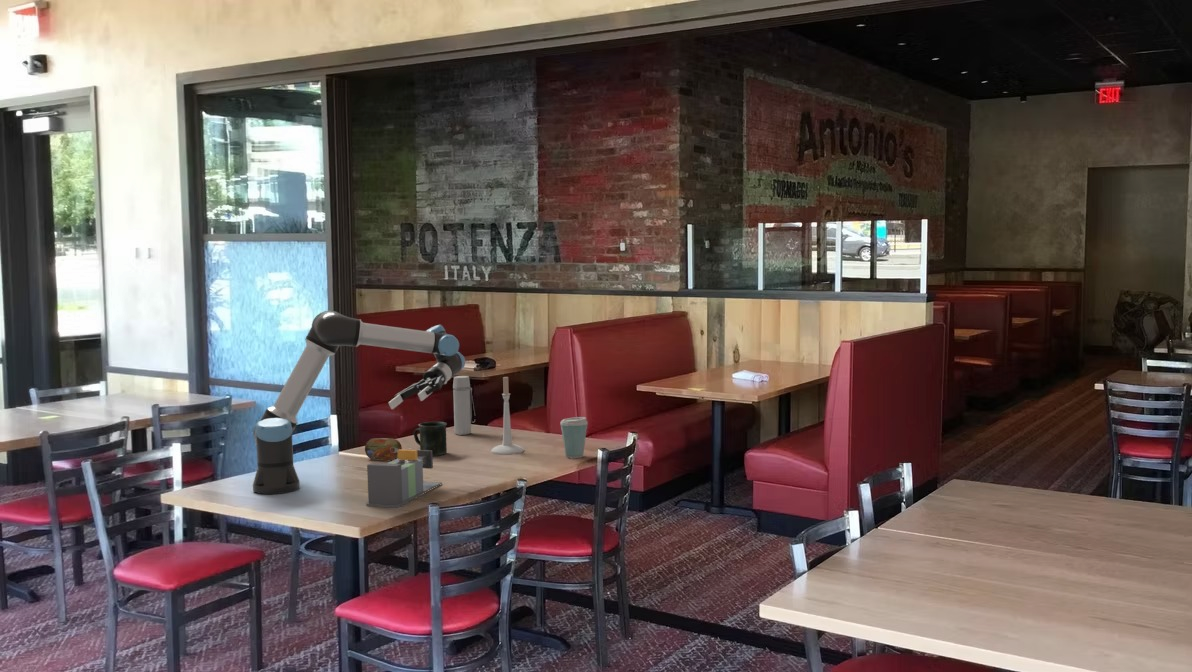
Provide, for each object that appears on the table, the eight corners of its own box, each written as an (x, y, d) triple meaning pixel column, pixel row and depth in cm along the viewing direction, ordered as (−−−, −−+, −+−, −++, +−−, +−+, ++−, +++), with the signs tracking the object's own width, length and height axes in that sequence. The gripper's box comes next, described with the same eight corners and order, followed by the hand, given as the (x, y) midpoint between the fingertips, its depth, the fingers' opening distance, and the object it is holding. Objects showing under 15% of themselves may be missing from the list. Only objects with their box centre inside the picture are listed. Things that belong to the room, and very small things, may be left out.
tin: (364, 459, 393) (363, 438, 393) (369, 458, 396) (368, 436, 396) (399, 461, 389) (398, 439, 388) (403, 459, 392) (402, 438, 391)
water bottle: (454, 435, 440) (452, 378, 438) (454, 432, 448) (453, 376, 446) (475, 435, 441) (473, 377, 439) (475, 431, 449) (474, 375, 447)
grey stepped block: (412, 483, 352) (411, 445, 351) (441, 484, 349) (440, 447, 347) (366, 505, 321) (364, 465, 320) (398, 507, 318) (396, 466, 317)
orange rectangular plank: (400, 458, 338) (399, 449, 337) (417, 459, 336) (417, 450, 336) (397, 459, 336) (397, 450, 336) (415, 460, 334) (415, 451, 334)
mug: (437, 457, 394) (436, 427, 393) (406, 454, 401) (405, 424, 400) (453, 452, 404) (452, 422, 403) (423, 449, 411) (422, 420, 410)
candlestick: (496, 447, 412) (494, 374, 409) (527, 448, 410) (525, 374, 407) (487, 454, 399) (485, 378, 397) (519, 454, 397) (517, 378, 395)
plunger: (416, 467, 349) (416, 442, 348) (432, 467, 347) (432, 443, 347) (393, 478, 333) (392, 452, 332) (409, 479, 331) (408, 453, 330)
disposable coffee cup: (560, 459, 386) (559, 420, 385) (560, 454, 397) (559, 416, 395) (588, 459, 386) (588, 420, 385) (588, 453, 397) (587, 415, 396)
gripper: (467, 378, 365) (437, 403, 347) (415, 393, 377) (383, 418, 359) (459, 359, 363) (427, 384, 345) (406, 375, 375) (373, 399, 357)
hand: (405, 401), depth 352 cm, fingers open, 13 cm apart
